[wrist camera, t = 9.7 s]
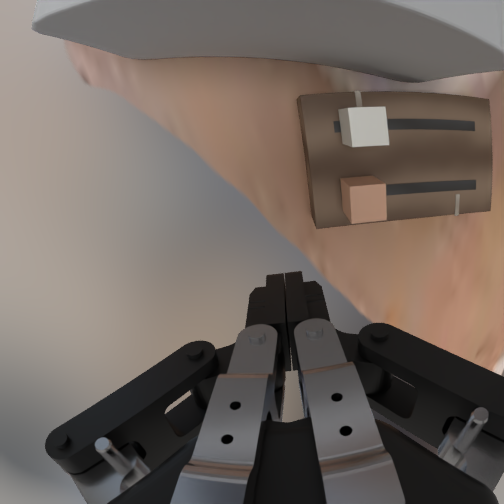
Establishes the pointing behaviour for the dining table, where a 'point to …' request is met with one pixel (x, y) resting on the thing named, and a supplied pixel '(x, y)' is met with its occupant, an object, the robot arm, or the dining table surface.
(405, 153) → the console
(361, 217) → the block
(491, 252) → the dining table surface
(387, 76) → the rounded white slab
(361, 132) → the block
